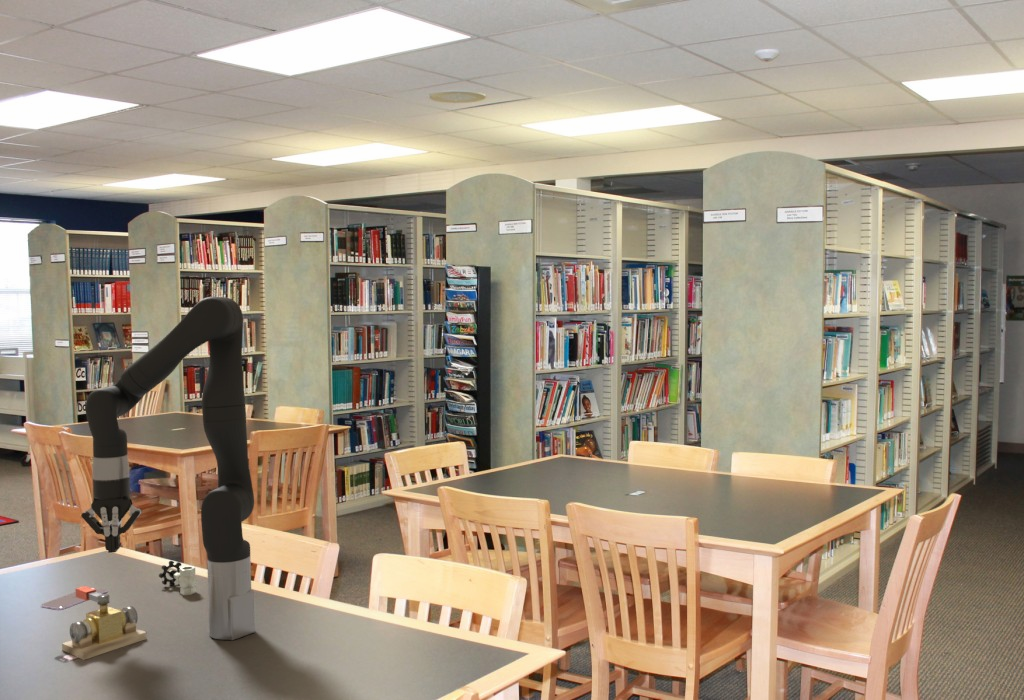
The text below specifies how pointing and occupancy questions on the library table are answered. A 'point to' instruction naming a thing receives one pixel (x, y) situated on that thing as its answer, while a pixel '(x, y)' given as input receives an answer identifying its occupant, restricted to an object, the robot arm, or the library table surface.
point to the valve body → (103, 624)
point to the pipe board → (91, 649)
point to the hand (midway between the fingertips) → (113, 551)
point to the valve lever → (92, 595)
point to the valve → (180, 577)
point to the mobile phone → (67, 601)
